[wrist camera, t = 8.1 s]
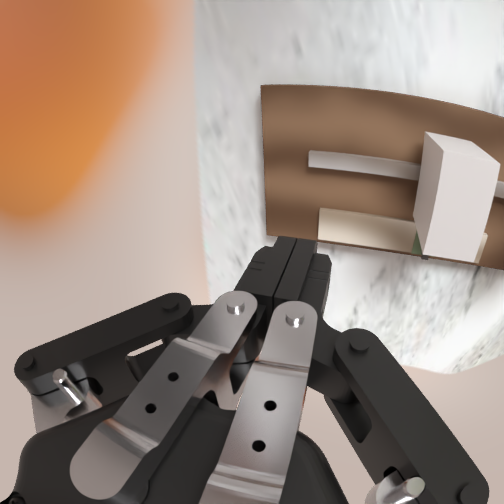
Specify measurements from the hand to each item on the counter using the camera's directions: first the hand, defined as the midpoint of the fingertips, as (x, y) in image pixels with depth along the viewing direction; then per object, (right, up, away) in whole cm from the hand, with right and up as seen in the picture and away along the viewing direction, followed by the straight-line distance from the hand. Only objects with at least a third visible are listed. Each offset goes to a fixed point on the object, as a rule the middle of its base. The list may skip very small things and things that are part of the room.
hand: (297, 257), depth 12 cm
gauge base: (+14, +6, +10) cm, 19 cm away
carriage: (+13, +4, +9) cm, 17 cm away
